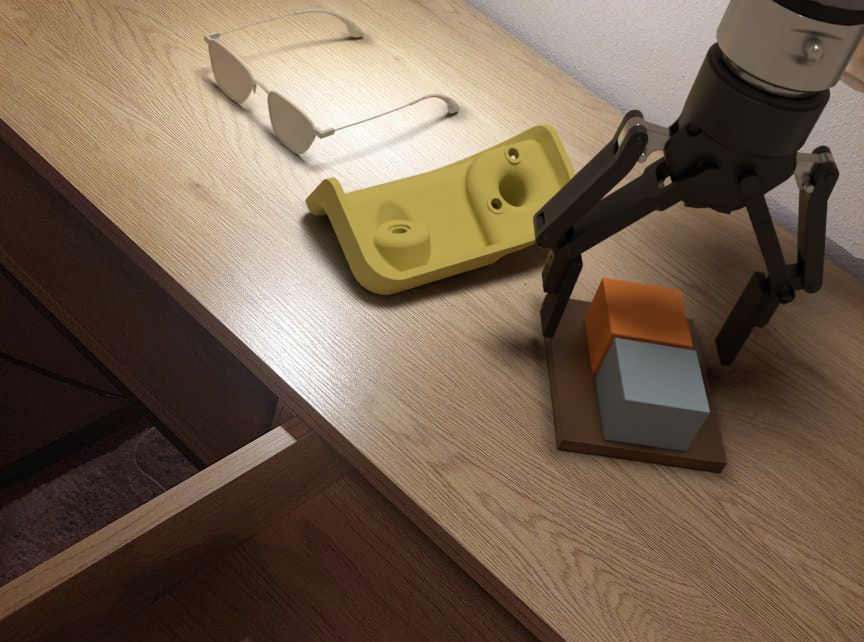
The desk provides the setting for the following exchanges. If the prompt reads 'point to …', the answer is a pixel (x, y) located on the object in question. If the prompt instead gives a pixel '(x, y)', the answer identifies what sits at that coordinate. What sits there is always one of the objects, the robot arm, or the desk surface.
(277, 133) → the eyeglasses
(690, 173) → the robot arm
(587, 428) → the board
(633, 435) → the grey-blue cube
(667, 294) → the orange cube
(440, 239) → the plastic component
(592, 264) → the desk surface
